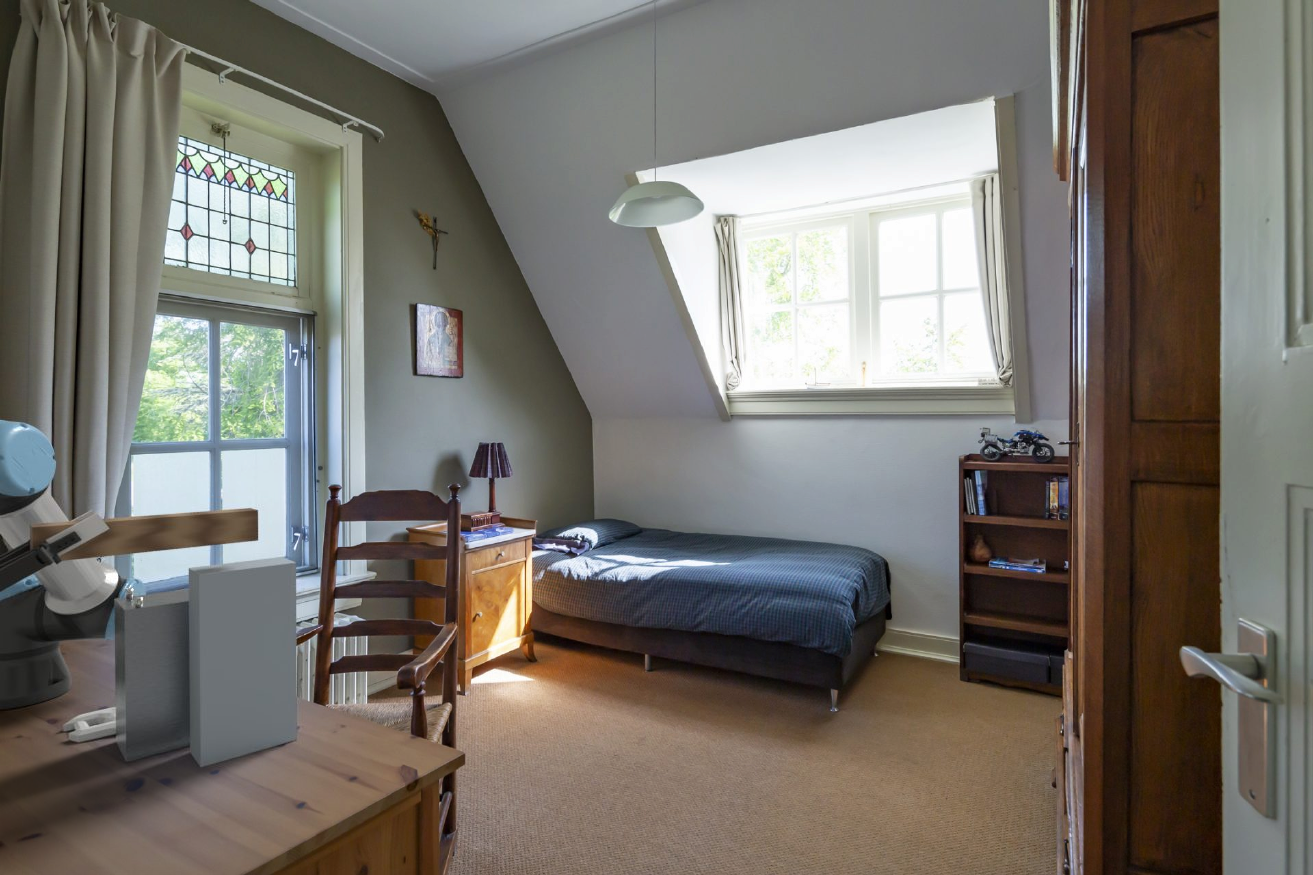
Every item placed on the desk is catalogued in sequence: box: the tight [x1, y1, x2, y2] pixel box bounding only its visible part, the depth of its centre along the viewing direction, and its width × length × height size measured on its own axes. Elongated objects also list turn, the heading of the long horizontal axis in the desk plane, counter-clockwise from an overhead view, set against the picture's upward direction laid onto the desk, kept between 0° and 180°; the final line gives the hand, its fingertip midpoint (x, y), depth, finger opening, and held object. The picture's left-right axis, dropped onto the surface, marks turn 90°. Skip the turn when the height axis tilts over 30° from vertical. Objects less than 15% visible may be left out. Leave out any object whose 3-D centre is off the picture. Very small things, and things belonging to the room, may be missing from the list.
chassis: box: [114, 588, 190, 763], centre depth 122 cm, size 10×16×26 cm, turn 134°
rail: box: [30, 507, 259, 561], centre depth 109 cm, size 28×4×5 cm, turn 135°
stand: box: [188, 556, 298, 768], centre depth 118 cm, size 7×14×30 cm, turn 134°
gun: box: [62, 706, 116, 743], centre depth 127 cm, size 18×4×10 cm
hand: (100, 519), depth 105 cm, fingers closed on rail, 4 cm apart
